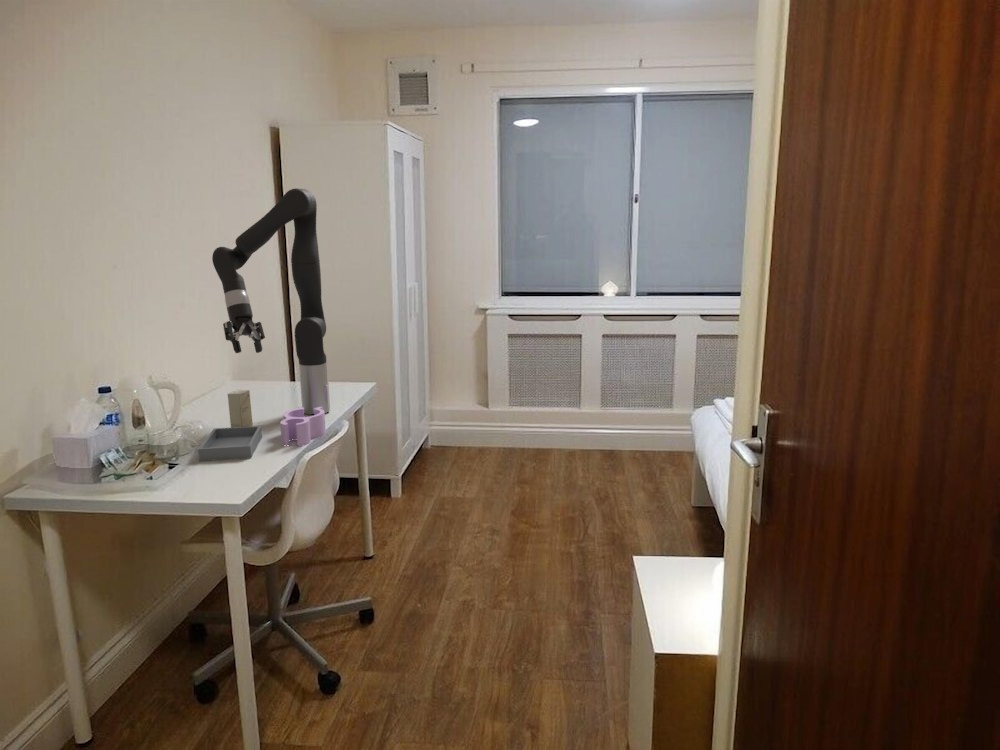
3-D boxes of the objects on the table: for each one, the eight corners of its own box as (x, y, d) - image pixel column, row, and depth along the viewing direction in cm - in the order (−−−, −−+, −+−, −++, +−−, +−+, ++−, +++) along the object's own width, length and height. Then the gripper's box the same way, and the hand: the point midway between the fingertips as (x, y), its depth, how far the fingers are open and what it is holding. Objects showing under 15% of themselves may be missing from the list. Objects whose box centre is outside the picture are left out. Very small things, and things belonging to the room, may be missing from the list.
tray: (262, 436, 224) (261, 426, 223) (251, 457, 205) (250, 446, 204) (215, 439, 222) (213, 428, 221) (199, 461, 203) (198, 449, 202)
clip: (313, 447, 214) (311, 424, 213) (271, 446, 215) (270, 424, 213) (331, 427, 234) (330, 406, 232) (293, 427, 234) (291, 406, 233)
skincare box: (242, 431, 230) (239, 394, 227) (230, 430, 231) (226, 393, 228) (253, 425, 236) (250, 389, 233) (241, 425, 237) (237, 389, 234)
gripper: (228, 301, 233) (239, 349, 231) (262, 303, 245) (273, 349, 244) (213, 308, 236) (224, 356, 235) (248, 309, 249) (258, 355, 247)
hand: (249, 352), depth 239 cm, fingers open, 8 cm apart
